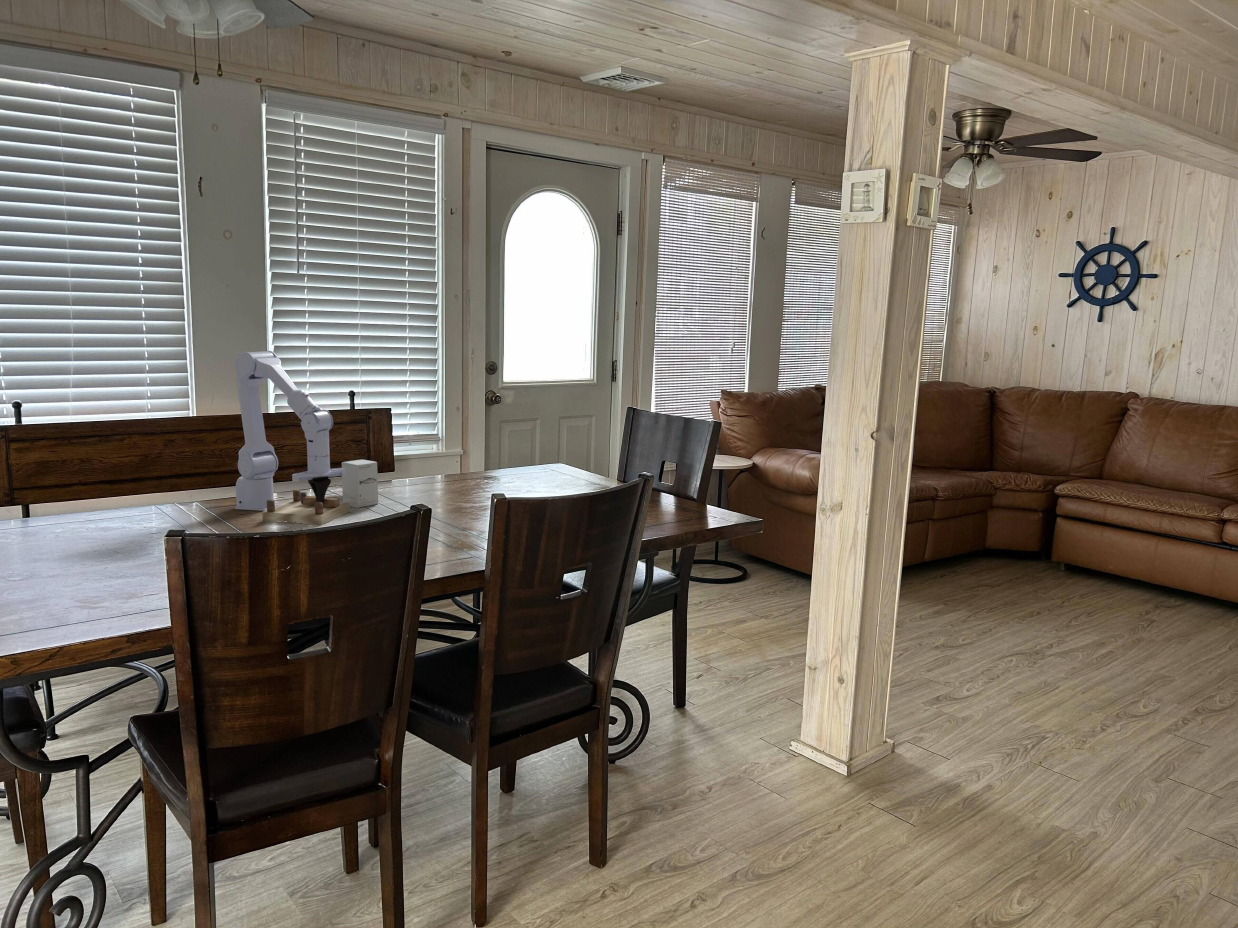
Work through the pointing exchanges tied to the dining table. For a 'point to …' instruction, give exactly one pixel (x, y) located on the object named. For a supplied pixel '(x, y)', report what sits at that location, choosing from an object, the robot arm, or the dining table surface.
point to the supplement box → (360, 483)
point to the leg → (312, 500)
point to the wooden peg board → (304, 511)
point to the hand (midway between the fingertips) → (320, 504)
